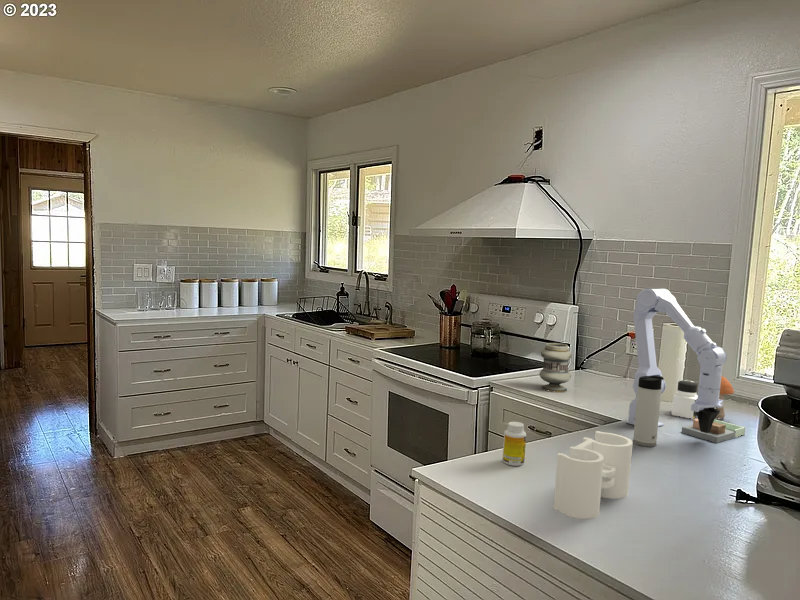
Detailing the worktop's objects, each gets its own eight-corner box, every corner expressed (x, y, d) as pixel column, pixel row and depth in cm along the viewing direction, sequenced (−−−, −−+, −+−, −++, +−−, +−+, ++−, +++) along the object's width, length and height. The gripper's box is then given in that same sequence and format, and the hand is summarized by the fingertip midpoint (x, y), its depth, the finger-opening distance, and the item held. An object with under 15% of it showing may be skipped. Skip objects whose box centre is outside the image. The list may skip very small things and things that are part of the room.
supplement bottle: (525, 467, 152) (528, 427, 151) (503, 465, 153) (506, 426, 152) (522, 459, 158) (525, 421, 157) (501, 458, 158) (503, 419, 157)
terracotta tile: (703, 430, 187) (704, 422, 187) (692, 427, 190) (693, 419, 189) (710, 428, 189) (711, 421, 189) (699, 425, 192) (700, 418, 192)
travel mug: (659, 448, 173) (665, 379, 171) (635, 445, 174) (641, 377, 172) (654, 441, 179) (661, 374, 177) (631, 439, 180) (637, 372, 178)
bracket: (592, 524, 123) (597, 466, 121) (547, 509, 129) (552, 453, 128) (634, 489, 142) (639, 439, 141) (594, 478, 148) (598, 429, 147)
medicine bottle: (693, 419, 206) (696, 384, 204) (671, 415, 210) (674, 381, 209) (697, 415, 211) (701, 381, 210) (676, 411, 216) (679, 378, 214)
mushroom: (704, 419, 206) (709, 376, 205) (705, 414, 213) (709, 372, 212) (731, 423, 203) (735, 379, 201) (730, 418, 210) (735, 375, 208)
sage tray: (735, 437, 187) (735, 430, 187) (700, 427, 196) (700, 420, 196) (744, 435, 190) (745, 427, 190) (709, 425, 199) (710, 418, 199)
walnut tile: (718, 434, 183) (719, 426, 183) (706, 431, 186) (707, 423, 186) (724, 432, 185) (725, 425, 185) (713, 429, 188) (714, 421, 188)
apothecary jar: (532, 386, 243) (535, 342, 241) (556, 385, 248) (559, 341, 246) (551, 394, 232) (555, 347, 230) (576, 392, 237) (580, 346, 235)
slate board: (716, 443, 181) (717, 437, 180) (681, 432, 190) (682, 426, 189) (735, 437, 187) (735, 432, 187) (700, 427, 196) (700, 422, 196)
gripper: (709, 393, 173) (705, 439, 174) (735, 388, 181) (730, 432, 183) (686, 387, 179) (681, 432, 180) (711, 383, 187) (707, 426, 188)
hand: (704, 432), depth 182 cm, fingers closed
